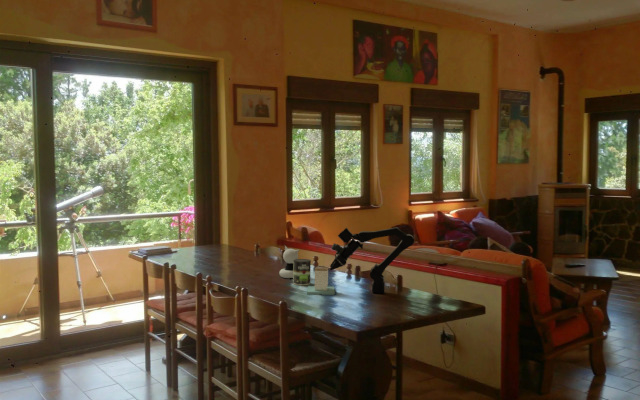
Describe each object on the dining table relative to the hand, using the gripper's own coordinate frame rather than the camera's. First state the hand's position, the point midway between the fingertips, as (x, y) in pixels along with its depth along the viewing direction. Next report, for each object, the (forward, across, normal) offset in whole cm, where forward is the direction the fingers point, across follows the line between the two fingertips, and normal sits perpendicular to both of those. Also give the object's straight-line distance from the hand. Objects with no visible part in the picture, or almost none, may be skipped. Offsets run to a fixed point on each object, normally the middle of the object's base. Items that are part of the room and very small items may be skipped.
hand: (330, 268), depth 324 cm
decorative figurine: (+26, -39, -8) cm, 48 cm away
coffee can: (+21, -19, -3) cm, 29 cm away
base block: (+13, +1, +6) cm, 15 cm away
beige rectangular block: (+12, +1, +5) cm, 13 cm away
